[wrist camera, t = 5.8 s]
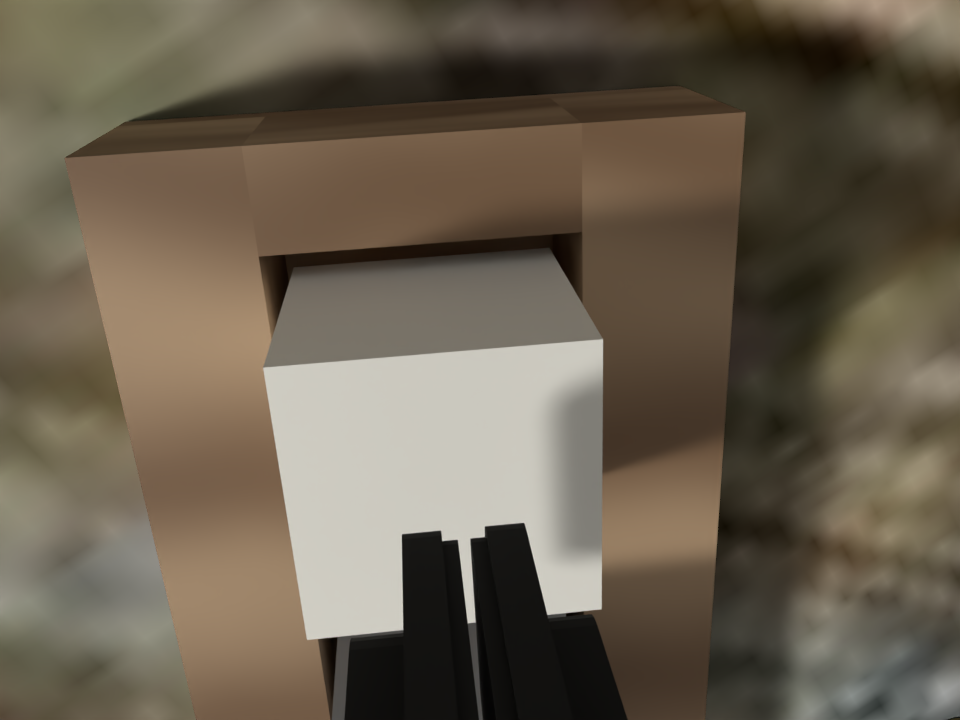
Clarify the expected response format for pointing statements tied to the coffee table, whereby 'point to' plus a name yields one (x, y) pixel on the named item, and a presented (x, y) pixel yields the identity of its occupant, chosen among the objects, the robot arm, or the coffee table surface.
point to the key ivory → (435, 426)
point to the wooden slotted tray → (402, 235)
